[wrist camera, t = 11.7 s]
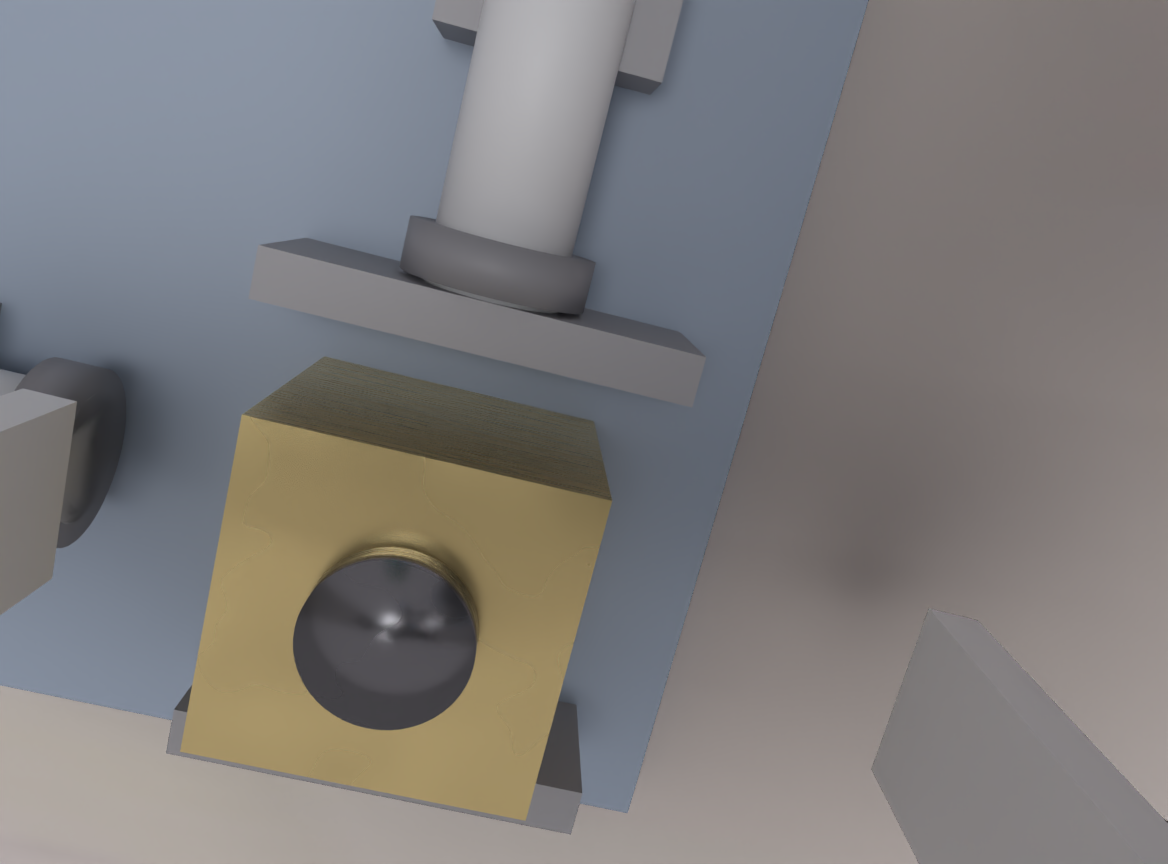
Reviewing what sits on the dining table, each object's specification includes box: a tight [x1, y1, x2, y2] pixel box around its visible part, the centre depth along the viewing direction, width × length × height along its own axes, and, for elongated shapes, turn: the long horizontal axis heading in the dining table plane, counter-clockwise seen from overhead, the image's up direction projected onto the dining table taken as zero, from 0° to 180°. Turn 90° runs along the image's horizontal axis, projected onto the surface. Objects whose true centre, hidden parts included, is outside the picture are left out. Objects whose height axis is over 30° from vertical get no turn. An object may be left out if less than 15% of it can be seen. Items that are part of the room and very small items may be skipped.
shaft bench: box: [0, 0, 869, 834], centre depth 17 cm, size 17×16×4 cm
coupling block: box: [180, 356, 612, 821], centre depth 16 cm, size 5×5×6 cm
